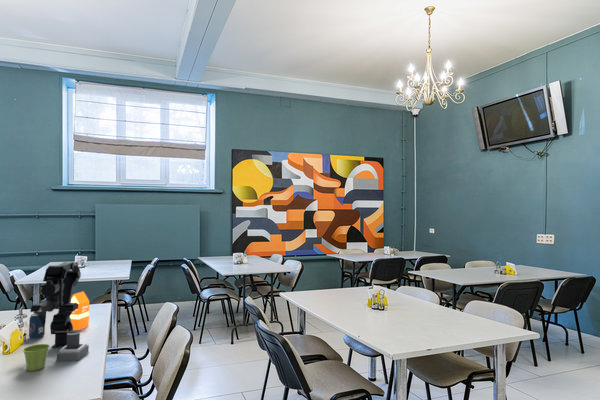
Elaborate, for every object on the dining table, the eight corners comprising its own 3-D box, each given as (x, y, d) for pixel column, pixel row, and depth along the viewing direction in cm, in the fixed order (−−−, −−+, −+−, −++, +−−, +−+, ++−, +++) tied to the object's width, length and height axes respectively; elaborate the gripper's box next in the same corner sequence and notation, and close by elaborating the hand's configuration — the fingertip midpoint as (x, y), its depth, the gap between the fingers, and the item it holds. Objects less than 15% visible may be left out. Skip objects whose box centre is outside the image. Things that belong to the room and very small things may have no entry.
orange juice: (88, 325, 227) (90, 291, 227) (78, 330, 218) (80, 294, 219) (76, 325, 227) (77, 290, 228) (65, 329, 219) (67, 293, 219)
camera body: (68, 353, 182) (68, 342, 182) (88, 352, 183) (88, 342, 183) (56, 361, 171) (56, 351, 171) (77, 361, 172) (78, 350, 172)
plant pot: (19, 374, 158) (20, 352, 158) (25, 366, 166) (25, 345, 167) (46, 370, 161) (47, 349, 162) (50, 362, 170) (51, 342, 170)
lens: (78, 346, 181) (79, 329, 181) (80, 349, 177) (80, 332, 177) (65, 348, 178) (66, 331, 178) (67, 352, 174) (67, 334, 174)
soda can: (25, 338, 203) (26, 315, 203) (39, 334, 209) (40, 312, 209) (33, 340, 200) (34, 316, 200) (47, 336, 206) (48, 313, 206)
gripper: (23, 296, 173) (22, 331, 172) (68, 295, 175) (66, 330, 174) (37, 291, 184) (36, 324, 183) (79, 290, 186) (78, 323, 185)
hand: (54, 325), depth 181 cm, fingers open, 9 cm apart
